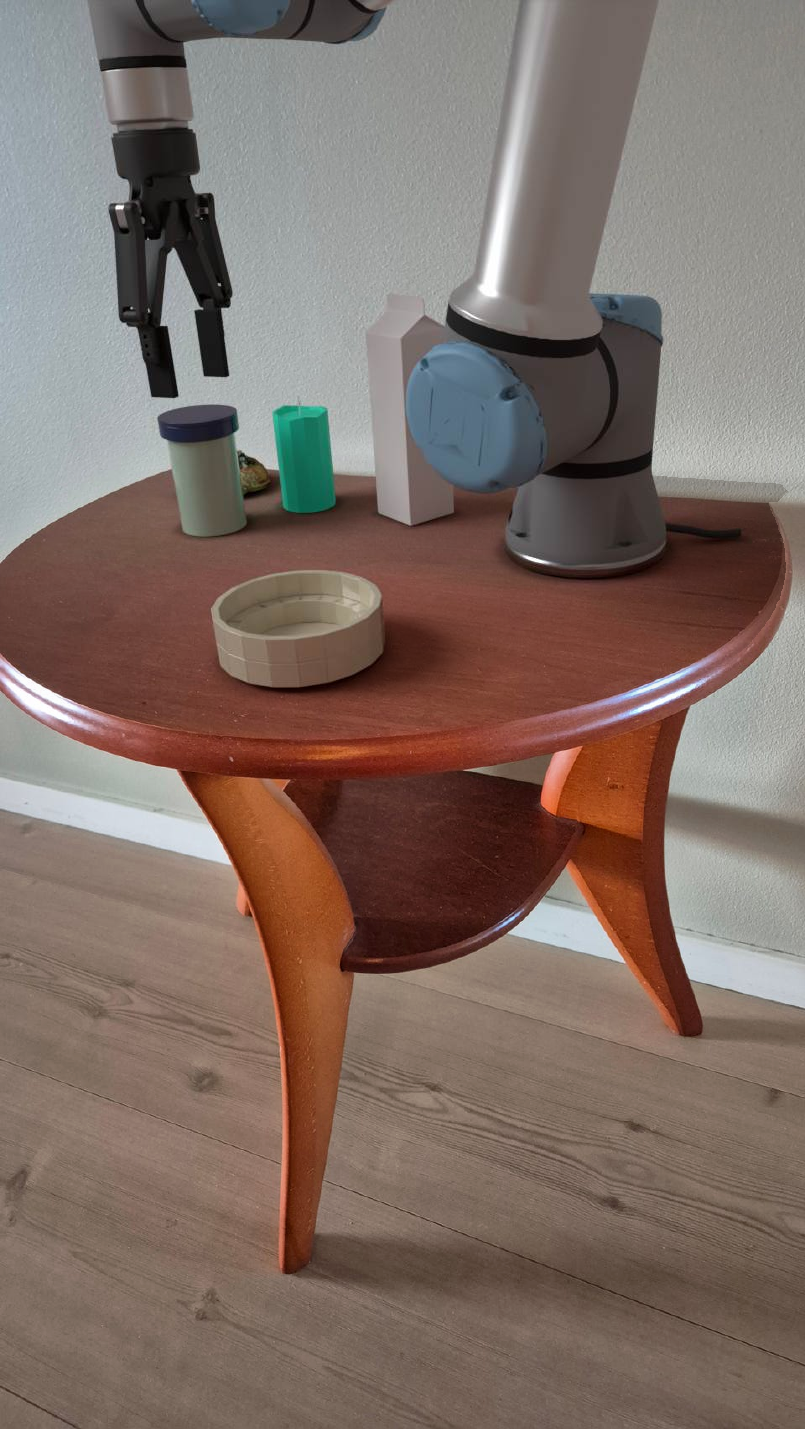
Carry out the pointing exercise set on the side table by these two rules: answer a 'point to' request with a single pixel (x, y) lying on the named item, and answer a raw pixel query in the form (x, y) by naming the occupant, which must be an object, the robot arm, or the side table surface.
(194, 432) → the lid
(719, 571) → the side table surface
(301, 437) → the candle
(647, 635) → the side table surface
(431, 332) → the milk
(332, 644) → the dish
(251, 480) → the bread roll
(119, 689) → the side table surface
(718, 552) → the side table surface
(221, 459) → the jar
